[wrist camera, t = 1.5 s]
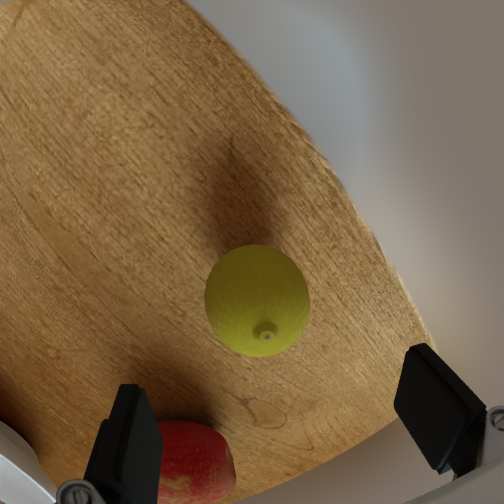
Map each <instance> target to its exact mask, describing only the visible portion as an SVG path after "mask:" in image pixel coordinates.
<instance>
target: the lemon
mask: <svg viewBox="0 0 504 504" xmlns="http://www.w3.org/2000/svg"><path fill="white" fill-rule="evenodd" d="M204 300H205V308H206V314H207V317H208V319H209V322H210V324H211V326H212V329H213V331H214V332H215V334H216V335H217V336H218V337H219V339H220V340H221V341H222V342H223V343H224V344H225V345H226V346H228V347H229V348H231V349H232V350H233V351H236V352H238V353H241V354H243V355H246V356H252V357H267V356H270V355H274V354H277V353H279V352H281V351H283V350H285V349H287V348H288V347H289V346H291V345H292V344H293V343H294V342H295V341H296V340H297V339H298V337H299V336H300V335H301V334H302V332H303V330H304V328H305V326H306V324H307V321H308V315H309V310H310V301H309V292H308V287H307V284H306V282H305V279H304V277H303V274H302V272H301V270H300V269H299V268H298V267H297V265H296V264H295V263H294V262H293V261H292V259H291V258H289V257H288V256H287V255H285V254H284V253H282V252H281V251H280V250H277V249H275V248H272V247H270V246H267V245H258V244H251V245H244V246H241V247H238V248H235V249H233V250H231V251H230V252H228V253H227V254H225V255H224V256H223V257H221V258H220V260H219V261H218V262H217V263H216V264H215V266H214V267H213V268H212V271H211V273H210V275H209V277H208V279H207V282H206V288H205V295H204Z"/></svg>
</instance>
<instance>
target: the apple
mask: <svg viewBox="0 0 504 504" xmlns="http://www.w3.org/2000/svg"><path fill="white" fill-rule="evenodd" d="M157 424H158V427H159V429H160V432H161V434H162V437H163V443H164V445H163V454H162V462H161V471H160V480H159V489H158V499H157V501H158V502H160V503H163V504H212V503H214V502H217V501H219V500H220V499H222V498H224V497H225V496H226V495H228V494H229V493H230V492H231V491H232V489H233V488H234V486H235V483H236V474H235V468H234V463H233V458H232V455H231V452H230V449H229V446H228V444H227V442H226V440H225V439H224V437H223V436H222V435H221V434H220V433H218V432H217V431H215V430H213V429H212V428H209V427H207V426H204V425H201V424H199V423H196V422H192V421H181V420H167V421H160V422H157Z"/></svg>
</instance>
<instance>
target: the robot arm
mask: <svg viewBox="0 0 504 504" xmlns="http://www.w3.org/2000/svg"><path fill="white" fill-rule="evenodd" d="M394 409H395V411H396V413H397V414H398V416H399V417H400V419H401V420H402V422H403V424H404V425H405V427H406V428H407V430H408V431H409V433H410V434H411V436H412V438H413V439H414V441H415V442H416V444H417V446H418V447H419V449H420V450H421V452H422V454H423V455H424V457H425V458H426V460H427V462H428V463H429V465H430V466H431V468H432V469H434V470H437V472H438V473H439V475H441V474H443V473H445V472H447V471H449V470H451V468H452V470H453V471H454V476H453V480H452V482H450V483H448V484H446V485H443V486H441V487H439V488H437V489H435V490H433V491H431V492H429V493H427V494H424V495H422V496H420V497H417V498H415V499H413V500H410V501H408V502H405V503H403V504H504V406H496V407H493V408H491V409H490V410H489V411H488V412H487V411H486V405H485V404H484V403H483V402H482V401H481V400H480V399H479V398H478V397H477V396H476V395H475V394H474V392H473V391H472V390H471V389H470V388H469V387H468V386H467V385H466V384H465V383H464V382H463V381H462V380H461V379H460V378H459V377H458V376H457V374H456V373H455V372H454V371H453V370H452V369H451V368H450V367H449V366H448V365H447V364H446V363H445V362H444V361H443V360H442V359H441V358H440V357H439V356H438V355H437V354H436V353H435V352H434V351H433V350H432V349H431V348H430V347H429V346H428V345H427V344H426V343H421V344H417V345H414V346H411V347H410V348H409V351H407V352H406V354H405V359H404V363H403V368H402V372H401V376H400V380H399V384H398V388H397V392H396V396H395V399H394ZM163 445H164V443H163V437H162V434H161V432H160V429H159V427H158V424H157V422H156V419H155V417H154V414H153V412H152V409H151V406H150V404H149V401H148V398H147V395H146V392H145V390H144V388H139V385H138V384H121V385H120V387H119V390H118V393H117V396H116V399H115V401H114V404H113V407H112V410H111V413H110V416H109V419H104V420H103V421H102V423H101V426H100V428H99V431H98V434H97V437H96V440H95V443H94V446H93V449H92V453H91V456H90V459H89V462H88V465H87V469H86V472H85V475H84V479H72V480H68V481H66V482H65V483H63V484H62V485H61V486H60V487H59V488H58V490H57V492H56V503H54V504H157V499H158V489H159V480H160V471H161V462H162V454H163Z"/></svg>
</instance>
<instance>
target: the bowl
mask: <svg viewBox="0 0 504 504" xmlns="http://www.w3.org/2000/svg"><path fill="white" fill-rule="evenodd" d="M56 492H57V489H56V487H55V484H54V483H53V481H52V480H51V478H50V477H49V476H48V475H47V474H46V472H45V471H44V470H43V469H42V468H41V467H40V466H39V462H38V459H37V456H36V454H35V452H34V450H33V449H32V448H31V446H30V445H29V444H28V443H27V442H26V441H25V440H24V439H23V438H22V437H21V436H20V435H19V434H18V433H17V432H15V431H14V430H13V429H12V428H10V427H9V426H7V425H6V424H5V423H3V422H1V421H0V500H1V501H3V502H5V503H6V504H54V503H56Z"/></svg>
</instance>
